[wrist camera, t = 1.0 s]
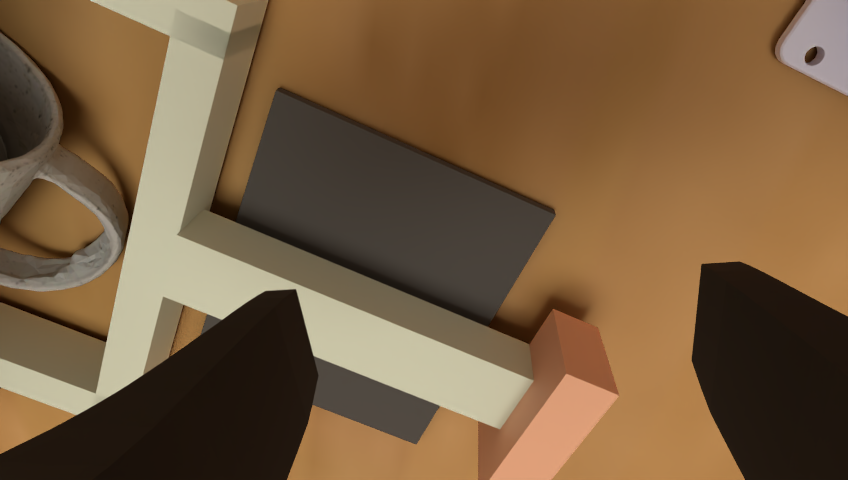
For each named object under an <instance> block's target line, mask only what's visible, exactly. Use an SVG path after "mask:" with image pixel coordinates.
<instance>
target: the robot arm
mask: <svg viewBox="0 0 848 480" xmlns="http://www.w3.org/2000/svg"><path fill="white" fill-rule="evenodd" d="M813 47H816V48H817V55H816V57H815V58H814V59H813V60H812V61H811V62H809V63H805V59H804V57H805V54H806V52H807V51H808V50H809V49H810V48H813ZM775 55H776V57H777V59H778V60H779V61H780V62H781V63H783V64H785V65H787V66H789V67H791V68H793V69H795V70H797V71H799V72H801V73H803V74H805V75H807V76H809V77H811V78H813V79H814V80H816V81H818V82H820V83H822V84H824V85H826V86H828V87H830V88H832V89H834V90H836V91H838V92H840V93H842V94H844V95H846V96H848V0H806V1H805V3H804V4H803V6H802V7H801V9H800V10H799V11H798V13H797V14H796V16H795V17H794V19H793V20H792V21H791V23H790V24H789V26H788V27H787V28H786V30H785V31H784V33H783V34H782V36H781V37H780V38H779V40H778V42H777V44H776V47H775ZM692 363H693V366H694V368H695V371H696V374H697V377H698V380H699V383H700V386H701V389H702V392H703V394H704V397H705V400H706V402H707V405H708V408H709V410H710V413H711V415H712V417H713V419H714V421H715V423H716V425H717V427H718V428H719V430H720V432H721V434H722V436H723V438H724V440H725V442H726V444H727V446H728V448H729V450H730V452H731V454H732V456H733V457H734V459H735V461H736V463H737V465H738V467H739V469H740V471H741V473H742V474H743V476H744V478H745V480H848V317H847V316H846V315H844V314H842V313H840V312H838V311H836V310H834V309H832V308H830V307H828V306H826V305H824V304H823V303H821V302H819V301H817V300H815V299H813V298H811V297H809V296H807V295H806V294H804V293H802V292H800V291H798V290H796V289H794V288H792V287H790V286H789V285H787V284H785V283H783V282H781V281H779V280H777V279H775V278H773V277H771V276H770V275H768V274H766V273H764V272H762V271H760V270H758V269H756V268H753V267H751V266H749V265H747V264H744V263H742V262H726V263H710V264H702V266H701V275H700V285H699V295H698V304H697V314H696V324H695V334H694V343H693V353H692ZM318 376H319V375H318V371H317V367H316V363H315V360H314V356H313V352H312V348H311V344H310V340H309V337H308V333H307V329H306V325H305V321H304V317H303V314H302V310H301V306H300V302H299V298H298V294H297V291H296V289H288V290H272V291H264V292H263V293H261V294H259V295H257V296H256V297H254V298H253V299H251V300H249V301H248V302H247V303H245V304H244V305H242V306H241V307H239V308H238V309H236V310H235V311H234V312H232V313H231V314H229V315H228V316H227V317H225V318H224V319H223V320H221V321H220V322H218V323H217V324H216V325H214V326H213V327H211V328H210V329H209V330H207V331H206V332H205V333H203V334H202V335H200V336H199V337H198V338H196V339H195V340H193V341H192V342H191V343H189V344H188V345H186V346H185V347H184V348H182V349H181V350H179V351H178V352H177V353H175V354H174V355H172V356H171V357H169V358H168V359H166V360H165V361H163V362H162V363H160V364H159V365H157V366H156V367H154V368H153V369H151V370H150V371H148V372H147V373H145V374H144V375H142V376H141V377H139V378H138V379H136V380H135V381H133V382H132V383H130V384H129V385H127V386H125V387H124V388H122V389H121V390H119V391H117V392H116V393H114V394H112V395H111V396H109V397H107V398H106V399H104V400H102V401H101V402H99V403H97V404H96V405H94V406H92V407H90V408H89V409H87V410H85V411H83V412H81V413H80V414H78V415H76V416H74V417H73V418H71V419H69V420H67V421H65V422H64V423H62V424H60V425H58V426H56V427H54V428H52V429H50V430H48V431H46V432H44V433H42V434H40V435H38V436H36V437H34V438H32V439H30V440H28V441H26V442H24V443H22V444H20V445H18V446H16V447H14V448H12V449H10V450H8V451H6V452H4V453H2V454H0V480H287V478H288V475H289V472H290V470H291V467H292V465H293V462H294V459H295V457H296V454H297V451H298V449H299V446H300V443H301V441H302V438H303V435H304V432H305V430H306V427H307V424H308V420H309V416H310V412H311V408H312V404H313V400H314V395H315V390H316V385H317V381H318Z"/></svg>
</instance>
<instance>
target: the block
mask: <svg viewBox="0 0 848 480" xmlns="http://www.w3.org/2000/svg"><path fill="white" fill-rule="evenodd" d="M90 1H92V2H95V3H97V4H99V5H101V6H104V7H106V8H108V9H110V10H113V11H115V12H117V13H119V14H121V15H124V16H126V17H128V18H130V19H133V20H135V21H137V22H139V23H142V24H144V25H146V26H148V27H151V28H153V29H155V30H157V31H159V32H162V33H164V34H166V35H168V36H170V39H169V44H168V49H167V54H166V59H165V63H164V68H163V73H162V78H161V83H160V88H159V92H158V97H157V102H156V107H155V112H154V116H153V121H152V126H151V131H150V136H149V140H148V145H147V150H146V155H145V160H144V164H143V169H142V174H141V179H140V184H139V188H138V193H137V198H136V203H135V208H134V212H133V217H132V222H131V227H130V232H129V237H128V241H127V246H126V251H125V256H124V261H123V265H122V270H121V275H120V280H119V285H118V289H117V294H116V299H115V304H114V309H113V313H112V318H111V323H110V328H109V333H108V337H107V342H104V341H101V340H98V339H96V338H93V337H90V336H88V335H85V334H83V333H80V332H77V331H75V330H72V329H69V328H67V327H64V326H62V325H59V324H56V323H54V322H51V321H48V320H46V319H43V318H41V317H38V316H35V315H33V314H30V313H27V312H25V311H22V310H20V309H17V308H14V307H12V306H9V305H6V304H4V303H1V302H0V387H1V388H4V389H6V390H9V391H12V392H15V393H17V394H20V395H23V396H26V397H28V398H31V399H34V400H37V401H39V402H42V403H45V404H48V405H50V406H53V407H56V408H59V409H61V410H64V411H67V412H70V413H72V414H75V415H78V414H80V413H81V412H83V411H85V410H87V409H89V408H90V407H92V406H94V405H96V404H97V403H99V402H101V401H102V400H104V399H106V398H107V397H109V396H111V395H112V394H114V393H116V392H117V391H119V390H121V389H122V388H124V387H125V386H127V385H129V384H130V383H132V382H133V381H135V380H136V379H138V378H139V377H141V376H142V375H144V374H145V373H147V372H148V371H150V370H151V369H153V368H154V367H156V366H157V365H159V364H160V363H162V362H163V361H165V360H166V359H168V358H169V354H170V351H171V347H172V344H173V340H174V337H175V333H176V329H177V326H178V322H179V319H180V315H181V312H182V308H183V305H186V306H188V307H191V308H193V309H196V310H199V311H201V312H204V313H206V314H209V315H211V316H214V317H216V318H219V319H221V320H223V319H224V318H225V317H227V316H228V315H229V314H231V313H232V312H234V311H235V310H236V309H238V308H239V307H241V306H242V305H244V304H245V303H247V302H248V301H249V300H251V299H253V298H254V297H256V296H257V295H259V294H261V293H263V292H264V291H272V290H288V289H296V291H297V294H298V298H299V302H300V306H301V310H302V314H303V317H304V321H305V325H306V329H307V333H308V337H309V340H310V344H311V348H312V352H313V356H315V357H318V358H320V359H323V360H325V361H328V362H330V363H333V364H335V365H338V366H340V367H343V368H345V369H348V370H351V371H353V372H356V373H358V374H361V375H363V376H366V377H368V378H371V379H373V380H376V381H378V382H381V383H384V384H386V385H389V386H391V387H394V388H396V389H399V390H401V391H404V392H406V393H409V394H411V395H414V396H416V397H419V398H422V399H424V400H427V401H429V402H432V403H434V404H437V405H439V406H442V407H444V408H447V409H449V410H452V411H454V412H457V413H460V414H462V415H465V416H467V417H470V418H472V419H475V420H477V421H478V480H551V479H552V478H553V477H554V476H555V474H556V473H557V472H558V471H559V470H560V468H561V467H562V466H563V465H564V463H565V462H566V461H567V460H568V458H569V457H570V456H571V455H572V453H573V452H574V451H575V450H576V448H577V447H578V446H579V445H580V443H581V442H582V441H583V440H584V438H585V437H586V436H587V435H588V434H589V432H590V431H591V430H592V429H593V427H594V426H595V425H596V424H597V422H598V421H599V420H600V419H601V417H602V416H603V415H604V414H605V412H606V411H607V410H608V409H609V407H610V406H611V405H612V404H613V402H614V401H615V400H616V399H617V398H618V396H619V393H618V390H617V387H616V384H615V381H614V377H613V374H612V371H611V368H610V365H609V362H608V358H607V355H606V352H605V349H604V346H603V343H602V339H601V336H600V333H599V330H598V328H597V327H595V326H593V325H590V324H588V323H586V322H583V321H581V320H579V319H576V318H574V317H572V316H569V315H567V314H565V313H562V312H560V311H557V310H555V309H552V311H551V312H550V314H549V315H548V317H547V318H546V320H545V321H544V323H543V324H542V326H541V327H540V329H539V330H538V332H537V333H536V335H535V337H534V338H533V340H532V341H531V343H530V344H527V343H525V342H523V341H520V340H518V339H515V338H513V337H510V336H508V335H506V334H503V333H501V332H498V331H496V330H494V329H491V328H489V327H486V326H484V325H482V324H479V323H477V322H474V321H472V320H470V319H467V318H465V317H462V316H460V315H458V314H455V313H453V312H450V311H448V310H446V309H443V308H441V307H438V306H436V305H433V304H431V303H429V302H426V301H424V300H421V299H419V298H417V297H414V296H412V295H409V294H407V293H405V292H402V291H400V290H397V289H395V288H393V287H390V286H388V285H385V284H383V283H381V282H378V281H376V280H373V279H371V278H368V277H366V276H364V275H361V274H359V273H356V272H354V271H352V270H349V269H347V268H344V267H342V266H340V265H337V264H335V263H332V262H330V261H328V260H325V259H323V258H320V257H318V256H316V255H313V254H311V253H308V252H306V251H304V250H301V249H299V248H296V247H294V246H291V245H289V244H287V243H284V242H282V241H279V240H277V239H275V238H272V237H270V236H267V235H265V234H263V233H260V232H258V231H255V230H253V229H251V228H248V227H246V226H243V225H241V224H239V223H236V222H234V221H231V220H229V219H226V218H224V217H222V216H219V215H217V214H214V213H212V212H210V208H211V204H212V201H213V197H214V194H215V190H216V186H217V183H218V179H219V176H220V172H221V168H222V165H223V161H224V158H225V154H226V151H227V147H228V143H229V140H230V136H231V133H232V129H233V126H234V122H235V118H236V115H237V111H238V108H239V104H240V100H241V97H242V93H243V90H244V86H245V83H246V79H247V75H248V72H249V68H250V65H251V61H252V58H253V54H254V50H255V47H256V43H257V40H258V36H259V33H260V29H261V25H262V22H263V18H264V15H265V11H266V7H267V4H268V0H90Z"/></svg>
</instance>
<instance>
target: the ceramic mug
mask: <svg viewBox="0 0 848 480" xmlns="http://www.w3.org/2000/svg"><path fill="white" fill-rule="evenodd" d="M63 127H64V126H63V112H62V107H61V104H60V101H59V99H58V96H57V94H56V93H55V91H54V89H53V87H52V85H51V83H50V81H49V80H48V79H47V77H46V76H45V75H44V74H43V72H42V71H41V70H40V69H39V67H38V66H37V65H36V63H35V62H34V61H33V60H32V59H31V58H30V57H29V56H27V55H26V54H25V53H24V52H23V51H22V50H21V49H20V48H19V47H18V46H17V45H16V44H15V43H13V42H12V41H11V40H10V39H8V38H7V37H6V36H5V35H3V34H2V33H1V32H0V223H1V219H2V218H3V217H4V216H5V215H6V214H7V213H8V211H9V210H10V209H11V208H12V206H13V205H14V204H15V203H16V201H17V200H18V199H19V198H20V197H21V195H22V194H23V192H24V191H25V190H26V189H27V188H28V187H29V185H30V184H31V182H32V181H33V179H35V178H41V179H45V180H48V181H50V182H53V183H55V184H56V185H58V186H59V187H61V188H62V189H63V190H65V191H66V192H67V193H68V194H70V195H71V196H73V197H74V198H75V199H77V200H78V201H80V202H81V203H82V204H84V205H85V206H86V207H87V208H88V209H90V210H91V211H92V212H93V213H94V214H95V215H96V216H97V217H98V219H99V220H100V221H101V223H102V225H103V226H104V228H105V229H104V230H105V231H104V232H103V233H102V234H101V235H100V236H99V237H98V238H97V240H96V241H94V242H93V243H91V244H90V245H89V246H87V247H86V248H84V249H80V250H77V251H75V253H74V254H73V256H72V257H69V258H42V257H36V256H31V255H23V254H19V253H16V252H13V251H9V250H6V249H3V248H0V285H3V286H6V287H10V288H16V289H25V290H33V291H54V290H64V289H68V288H73V287H77V286H81V285H83V284H85V283H88V282H90V281H92V280H94V279H95V278H97V277H99V276H101V275H102V274H103V273H104V272H105V271H106V270H107V269H109V268H110V267H111V266H112V265H113V264H114V263H115V262H116V261H117V259H118V257H119V255H120V254H121V252H122V250H123V247H124V242H125V236H126V232H127V227H128V219H129V217H128V212H127V209H126V206H125V203H124V201H123V198H122V196H121V195H120V193H119V192H118V190H117V189H116V187H115V186H114V184H113V183H112V182H111V181H110V180H109V179H107V178H106V177H105V176H104V175H103V174H102V173H100V172H99V171H98V170H96V169H95V168H94V167H92V166H91V165H90V164H88V163H87V162H86V161H84V160H83V159H82V158H80V157H79V156H77V155H76V154H74V153H72V152H70V151H69V150H67V149H65V148H64V147H62V146H61V145H60V144H59V141H60V138H61V135H62V131H63Z"/></svg>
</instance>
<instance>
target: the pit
mask: <svg viewBox="0 0 848 480" xmlns="http://www.w3.org/2000/svg"><path fill="white" fill-rule="evenodd" d="M555 215H556V214H555V211H554V210H553V209H550V208H548V207H546V206H544V205H541V204H539V203H537V202H535V201H532V200H530V199H528V198H526V197H523V196H521V195H519V194H517V193H515V192H512V191H510V190H508V189H506V188H503V187H501V186H499V185H497V184H494V183H492V182H490V181H488V180H485V179H483V178H481V177H479V176H476V175H474V174H472V173H470V172H468V171H465V170H463V169H461V168H459V167H456V166H454V165H452V164H450V163H447V162H445V161H443V160H441V159H438V158H436V157H434V156H432V155H429V154H427V153H425V152H423V151H420V150H418V149H416V148H414V147H412V146H409V145H407V144H405V143H403V142H400V141H398V140H396V139H394V138H391V137H389V136H387V135H385V134H382V133H380V132H378V131H376V130H373V129H371V128H369V127H367V126H365V125H362V124H360V123H358V122H356V121H353V120H351V119H349V118H347V117H344V116H342V115H340V114H338V113H335V112H333V111H331V110H329V109H326V108H324V107H322V106H320V105H318V104H315V103H313V102H311V101H309V100H306V99H304V98H302V97H300V96H297V95H295V94H293V93H291V92H288V91H286V90H284V89H282V88H279V89H277V90H276V92H275V95H274V98H273V102H272V105H271V108H270V111H269V115H268V118H267V121H266V124H265V128H264V131H263V134H262V137H261V141H260V144H259V147H258V150H257V154H256V157H255V160H254V163H253V167H252V170H251V173H250V176H249V180H248V183H247V186H246V189H245V193H244V196H243V199H242V202H241V206H240V209H239V212H238V216H237V219H236V223H239V224H241V225H243V226H246V227H248V228H251V229H253V230H255V231H258V232H260V233H263V234H265V235H267V236H270V237H272V238H275V239H277V240H279V241H282V242H284V243H287V244H289V245H291V246H294V247H296V248H299V249H301V250H304V251H306V252H308V253H311V254H313V255H316V256H318V257H320V258H323V259H325V260H328V261H330V262H332V263H335V264H337V265H340V266H342V267H344V268H347V269H349V270H352V271H354V272H356V273H359V274H361V275H364V276H366V277H368V278H371V279H373V280H376V281H378V282H381V283H383V284H385V285H388V286H390V287H393V288H395V289H397V290H400V291H402V292H405V293H407V294H409V295H412V296H414V297H417V298H419V299H421V300H424V301H426V302H429V303H431V304H433V305H436V306H438V307H441V308H443V309H446V310H448V311H450V312H453V313H455V314H458V315H460V316H462V317H465V318H467V319H470V320H472V321H474V322H477V323H479V324H482V325H484V326H486V327H488V326H489V324H490V322H491V321H492V319H493V317H494V316H495V314H496V313H497V311H498V309H499V308H500V306H501V304H502V303H503V301H504V299H505V298H506V296H507V294H508V293H509V291H510V289H511V288H512V286H513V285H514V283H515V281H516V280H517V278H518V276H519V275H520V273H521V271H522V270H523V268H524V266H525V265H526V263H527V262H528V260H529V258H530V257H531V255H532V253H533V252H534V250H535V248H536V247H537V245H538V243H539V242H540V240H541V238H542V237H543V235H544V234H545V232H546V230H547V229H548V227H549V225H550V224H551V222H552V220H553V219H554V217H555ZM220 321H221V319H219V318H216V317H214V316H211V315H209V314H207V316H206V320H205V323H204V326H203V329H202V333H201V335H202V334H203V333H205V332H206V331H207V330H209V329H210V328H211V327H213V326H214V325H216V324H217V323H218V322H220ZM314 360H315V363H316V367H317V371H318V375H319V376H318V381H317V385H316V390H315V395H314V400H313V404H312V405H315V406H318V407H320V408H323V409H325V410H328V411H331V412H333V413H336V414H338V415H341V416H344V417H346V418H349V419H351V420H354V421H357V422H359V423H362V424H364V425H367V426H370V427H372V428H375V429H377V430H380V431H383V432H385V433H388V434H390V435H393V436H396V437H398V438H401V439H403V440H406V441H409V442H411V443H414V444H417V442H418V441H419V439H420V438H421V436H422V434H423V433H424V431H425V429H426V428H427V426H428V424H429V423H430V421H431V419H432V418H433V416H434V414H435V413H436V411H437V410H438V408H439V405H437V404H434V403H432V402H429V401H427V400H424V399H422V398H419V397H416V396H414V395H411V394H409V393H406V392H404V391H401V390H399V389H396V388H394V387H391V386H389V385H386V384H384V383H381V382H378V381H376V380H373V379H371V378H368V377H366V376H363V375H361V374H358V373H356V372H353V371H351V370H348V369H345V368H343V367H340V366H338V365H335V364H333V363H330V362H328V361H325V360H323V359H320V358H318V357H315V356H314Z"/></svg>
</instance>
